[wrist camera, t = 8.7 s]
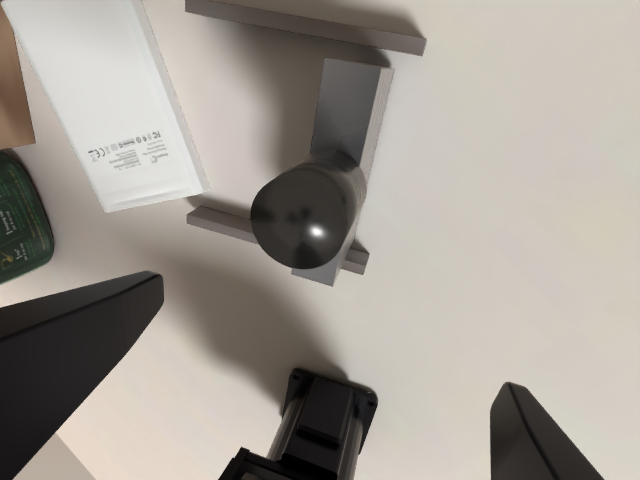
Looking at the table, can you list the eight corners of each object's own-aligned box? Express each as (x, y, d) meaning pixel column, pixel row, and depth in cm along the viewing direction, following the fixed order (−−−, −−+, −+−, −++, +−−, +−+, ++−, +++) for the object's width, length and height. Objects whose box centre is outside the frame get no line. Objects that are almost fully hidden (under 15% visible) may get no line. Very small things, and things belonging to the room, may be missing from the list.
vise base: (367, 262, 21) (358, 289, 19) (17, 161, 26) (-30, 172, 23) (426, 41, 16) (425, 35, 13) (-29, -40, 20) (-98, -56, 18)
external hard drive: (131, -48, 18) (215, 186, 23) (24, 7, 21) (118, 206, 25) (105, -58, 17) (201, 194, 21) (-5, 2, 20) (100, 214, 24)
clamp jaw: (362, 242, 21) (319, 350, 13) (312, 229, 21) (241, 324, 13) (405, 70, 16) (381, 73, 9) (342, 58, 17) (263, 49, 9)
